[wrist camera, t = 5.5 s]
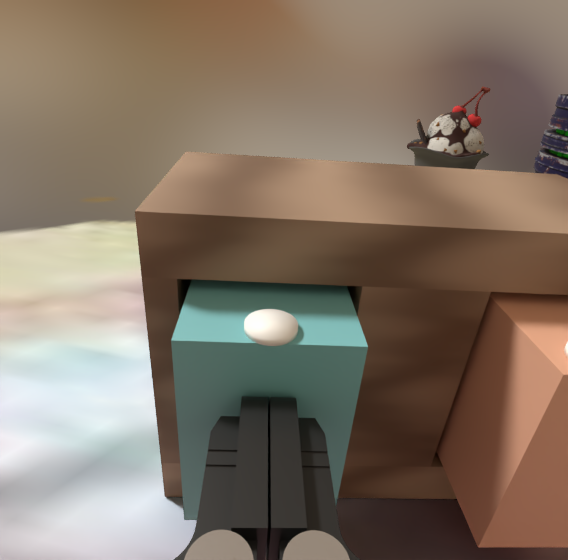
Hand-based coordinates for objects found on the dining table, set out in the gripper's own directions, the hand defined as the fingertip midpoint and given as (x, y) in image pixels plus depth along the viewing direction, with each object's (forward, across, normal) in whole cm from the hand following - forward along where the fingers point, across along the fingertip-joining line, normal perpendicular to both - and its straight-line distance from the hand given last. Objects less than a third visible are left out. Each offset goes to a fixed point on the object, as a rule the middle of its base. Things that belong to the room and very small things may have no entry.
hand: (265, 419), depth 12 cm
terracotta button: (+2, -10, +5) cm, 11 cm away
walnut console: (+6, -5, +7) cm, 11 cm away
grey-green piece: (+3, 0, +5) cm, 5 cm away
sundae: (+28, -16, +7) cm, 33 cm away
